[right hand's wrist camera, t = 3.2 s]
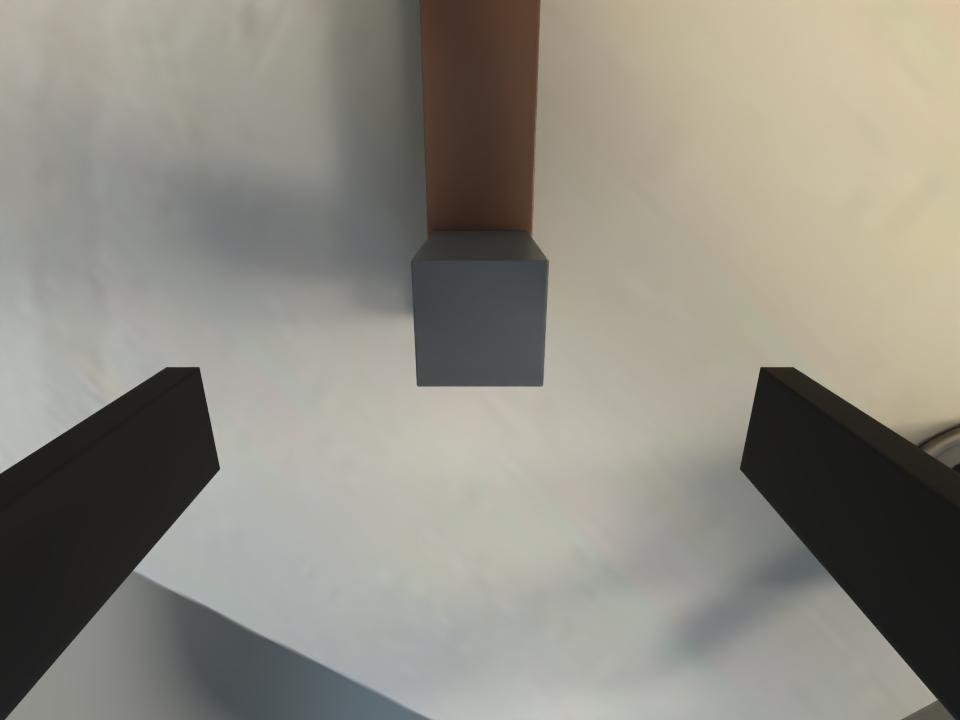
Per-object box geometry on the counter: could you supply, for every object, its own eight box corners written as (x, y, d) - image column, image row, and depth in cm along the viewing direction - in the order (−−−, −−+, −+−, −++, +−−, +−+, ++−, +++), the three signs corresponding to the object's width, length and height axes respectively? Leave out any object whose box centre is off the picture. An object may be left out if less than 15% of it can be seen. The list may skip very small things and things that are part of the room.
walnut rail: (534, -183, 26) (550, -279, 20) (520, 318, 35) (528, 348, 29) (425, -183, 26) (409, -279, 20) (439, 318, 35) (431, 348, 29)
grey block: (527, 230, 27) (549, 260, 19) (524, 322, 29) (543, 387, 20) (432, 230, 27) (410, 260, 19) (435, 322, 29) (416, 387, 20)
